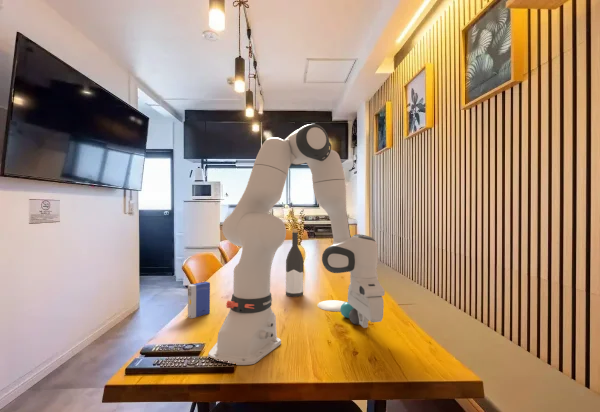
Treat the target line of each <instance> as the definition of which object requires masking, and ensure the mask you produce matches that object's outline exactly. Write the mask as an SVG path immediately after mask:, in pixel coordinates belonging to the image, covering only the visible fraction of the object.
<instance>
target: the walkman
mask: <svg viewBox="0 0 600 412" xmlns="http://www.w3.org/2000/svg"><path fill="white" fill-rule="evenodd" d="M210 306H211V283H210V282H209V281H206V280H203V281H201V282H196V283H191V284H188V285H187V317H188V318H189V319H195V318H198V317H201V316H204V315H208V314H210V313H211V311H210V309H211V308H210Z"/></svg>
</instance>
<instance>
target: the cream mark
mask: <svg viewBox="0 0 600 412" xmlns="http://www.w3.org/2000/svg"><path fill="white" fill-rule="evenodd" d="M345 302H346V301H343V300H337V299H336V300H335V299H334V300H333V299H329V300H323V301H319V302H318V303H317V307H318V308H319V309H321V310H322V311H327V312H341V311H340V308H341V305H342V304H343V303H345Z"/></svg>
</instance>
